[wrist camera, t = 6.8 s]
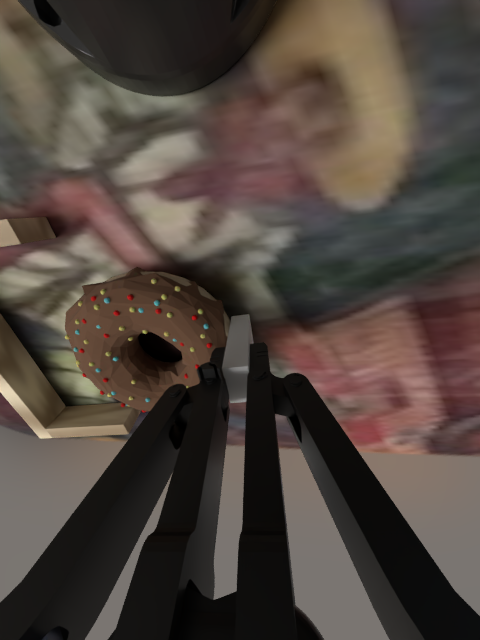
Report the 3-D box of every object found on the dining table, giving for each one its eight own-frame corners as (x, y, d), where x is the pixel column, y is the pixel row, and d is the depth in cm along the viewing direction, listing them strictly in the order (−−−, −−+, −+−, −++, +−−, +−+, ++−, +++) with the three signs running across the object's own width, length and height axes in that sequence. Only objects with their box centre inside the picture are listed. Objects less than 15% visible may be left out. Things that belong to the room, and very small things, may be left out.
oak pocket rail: (-72, 236, 18) (-129, 242, 15) (46, 216, 17) (6, 219, 14) (61, 415, 27) (40, 438, 24) (141, 410, 26) (128, 433, 23)
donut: (206, 238, 17) (190, 250, 12) (256, 371, 23) (258, 412, 18) (58, 291, 20) (1, 316, 15) (137, 398, 25) (113, 439, 21)
